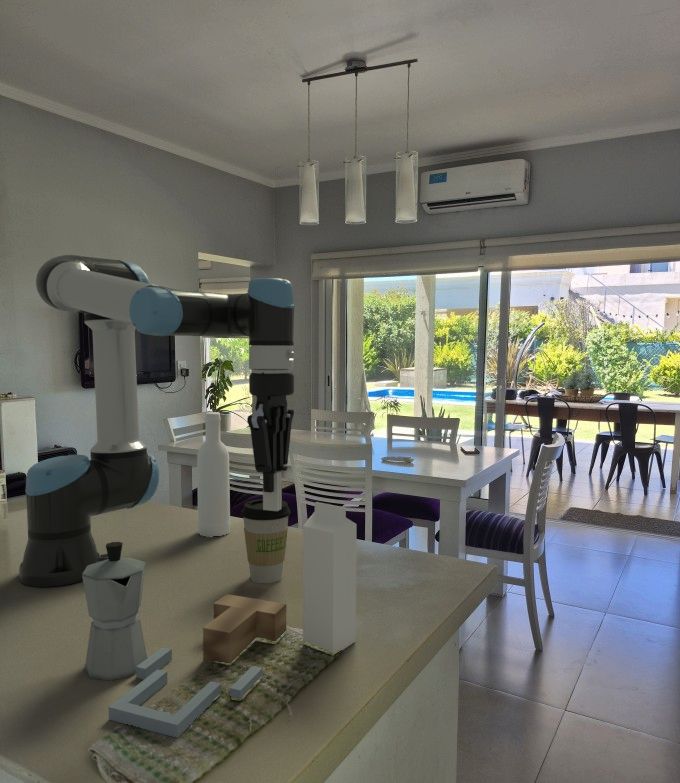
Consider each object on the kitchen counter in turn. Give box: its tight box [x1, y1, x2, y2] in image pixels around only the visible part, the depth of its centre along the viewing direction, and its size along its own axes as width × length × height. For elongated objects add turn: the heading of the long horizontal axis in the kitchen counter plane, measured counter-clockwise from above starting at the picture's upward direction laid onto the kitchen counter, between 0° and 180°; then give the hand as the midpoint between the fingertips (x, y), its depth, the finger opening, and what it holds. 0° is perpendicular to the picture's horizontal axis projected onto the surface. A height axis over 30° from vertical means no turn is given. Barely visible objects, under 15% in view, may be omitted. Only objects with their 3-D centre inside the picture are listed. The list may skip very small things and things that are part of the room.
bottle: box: [196, 411, 231, 537], centre depth 152 cm, size 8×8×30 cm
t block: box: [202, 593, 287, 663], centre depth 95 cm, size 11×12×5 cm
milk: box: [302, 501, 357, 653], centre depth 95 cm, size 6×6×22 cm
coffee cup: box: [240, 498, 291, 585], centre depth 123 cm, size 10×10×15 cm
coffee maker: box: [82, 541, 148, 682], centre depth 90 cm, size 15×9×18 cm, turn 33°
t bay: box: [108, 647, 263, 739], centre depth 81 cm, size 17×15×2 cm
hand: (272, 509), depth 105 cm, fingers closed
